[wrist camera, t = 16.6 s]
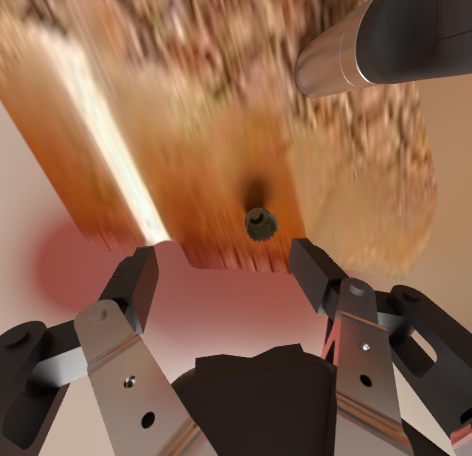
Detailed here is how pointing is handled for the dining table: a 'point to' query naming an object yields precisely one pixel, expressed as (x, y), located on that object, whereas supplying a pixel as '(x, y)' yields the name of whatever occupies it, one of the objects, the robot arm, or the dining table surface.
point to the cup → (260, 224)
